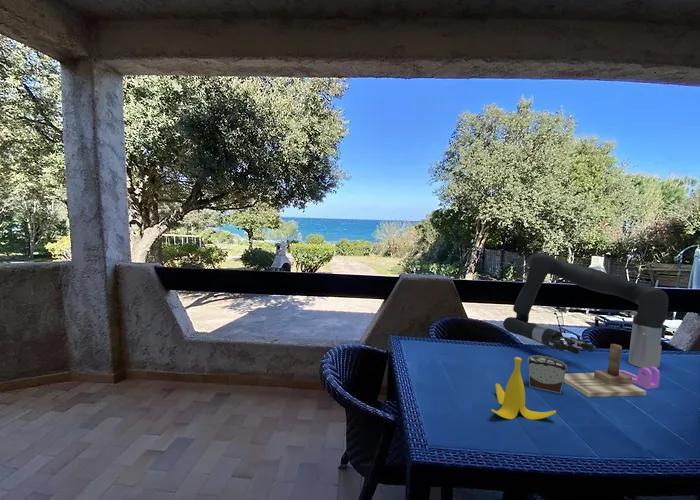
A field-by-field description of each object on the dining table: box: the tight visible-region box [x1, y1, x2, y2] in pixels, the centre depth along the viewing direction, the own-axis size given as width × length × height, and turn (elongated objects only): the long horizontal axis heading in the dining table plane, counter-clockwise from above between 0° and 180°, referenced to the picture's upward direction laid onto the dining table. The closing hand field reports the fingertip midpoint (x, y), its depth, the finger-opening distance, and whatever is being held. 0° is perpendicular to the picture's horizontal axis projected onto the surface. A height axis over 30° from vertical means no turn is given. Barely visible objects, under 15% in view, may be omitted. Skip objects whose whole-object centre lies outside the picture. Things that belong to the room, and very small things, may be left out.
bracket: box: [619, 367, 661, 390], centre depth 125 cm, size 13×6×7 cm, turn 18°
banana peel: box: [490, 356, 557, 421], centre depth 99 cm, size 17×19×17 cm
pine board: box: [563, 372, 647, 398], centre depth 119 cm, size 22×14×2 cm, turn 98°
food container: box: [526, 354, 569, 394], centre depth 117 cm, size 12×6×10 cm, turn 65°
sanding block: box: [593, 343, 633, 386], centre depth 119 cm, size 9×6×13 cm, turn 98°
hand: (586, 350), depth 128 cm, fingers open, 8 cm apart
